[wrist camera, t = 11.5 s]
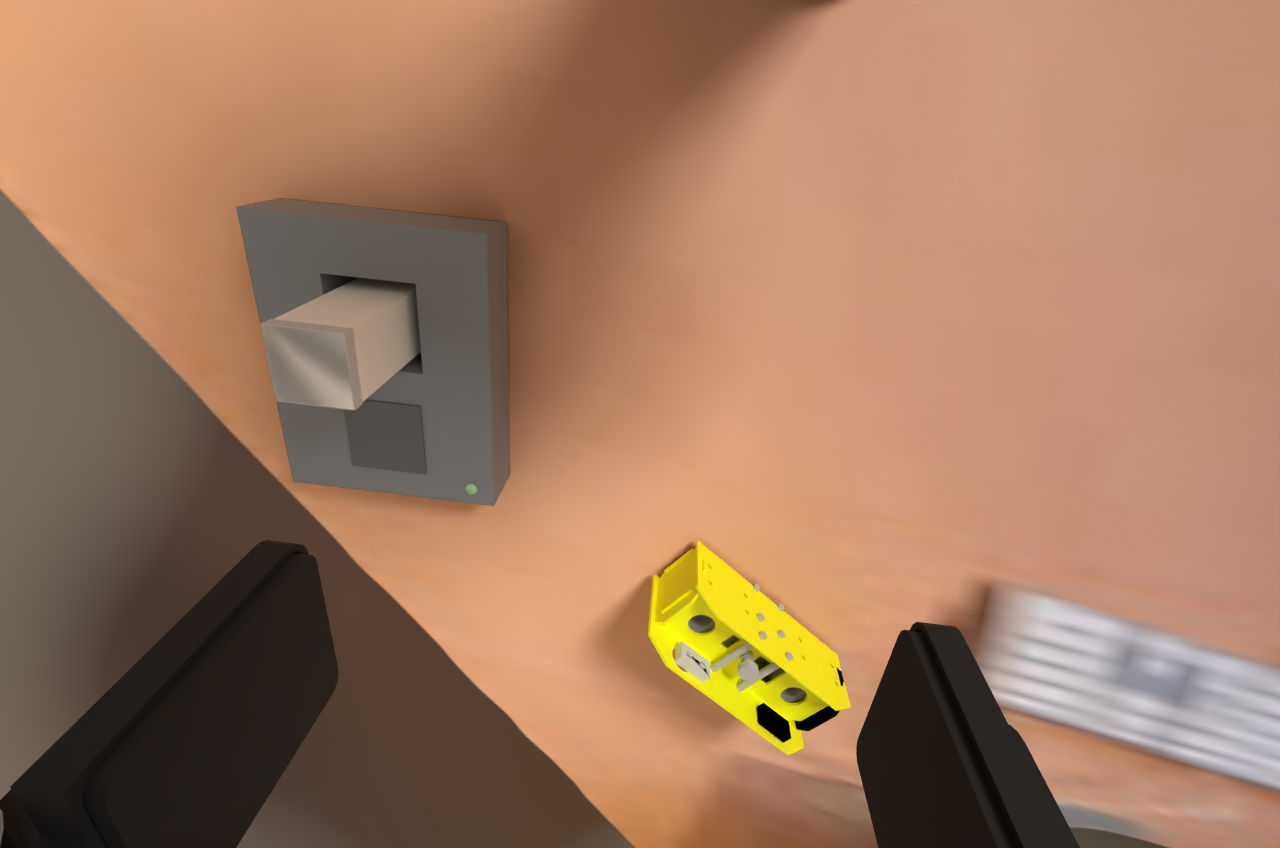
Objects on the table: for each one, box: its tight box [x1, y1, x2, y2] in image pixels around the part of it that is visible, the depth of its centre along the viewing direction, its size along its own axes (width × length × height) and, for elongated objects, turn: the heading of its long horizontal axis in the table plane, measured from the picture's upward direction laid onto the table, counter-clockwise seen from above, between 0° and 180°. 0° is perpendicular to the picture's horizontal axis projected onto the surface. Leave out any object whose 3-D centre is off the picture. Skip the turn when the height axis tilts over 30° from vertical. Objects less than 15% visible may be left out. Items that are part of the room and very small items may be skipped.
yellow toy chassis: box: [647, 541, 851, 755], centre depth 45 cm, size 16×6×8 cm, turn 47°
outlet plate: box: [237, 198, 510, 506], centre depth 39 cm, size 18×14×4 cm
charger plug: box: [261, 278, 421, 411], centre depth 34 cm, size 4×4×10 cm
